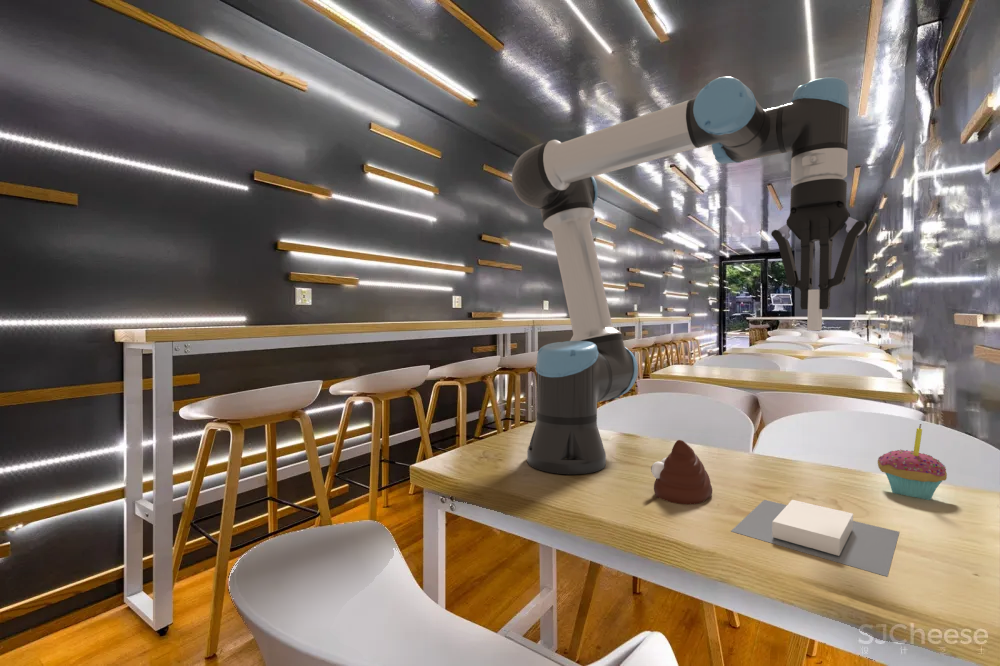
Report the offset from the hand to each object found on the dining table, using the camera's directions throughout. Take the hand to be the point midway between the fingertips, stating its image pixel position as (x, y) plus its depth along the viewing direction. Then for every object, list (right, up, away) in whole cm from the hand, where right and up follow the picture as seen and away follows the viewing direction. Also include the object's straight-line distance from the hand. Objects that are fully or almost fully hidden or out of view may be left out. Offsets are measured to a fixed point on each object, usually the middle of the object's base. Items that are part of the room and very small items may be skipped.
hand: (814, 330), depth 78 cm
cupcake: (+15, -27, -1) cm, 31 cm away
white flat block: (-7, -25, -13) cm, 29 cm away
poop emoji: (-22, -27, -1) cm, 35 cm away
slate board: (-10, -27, -15) cm, 32 cm away
